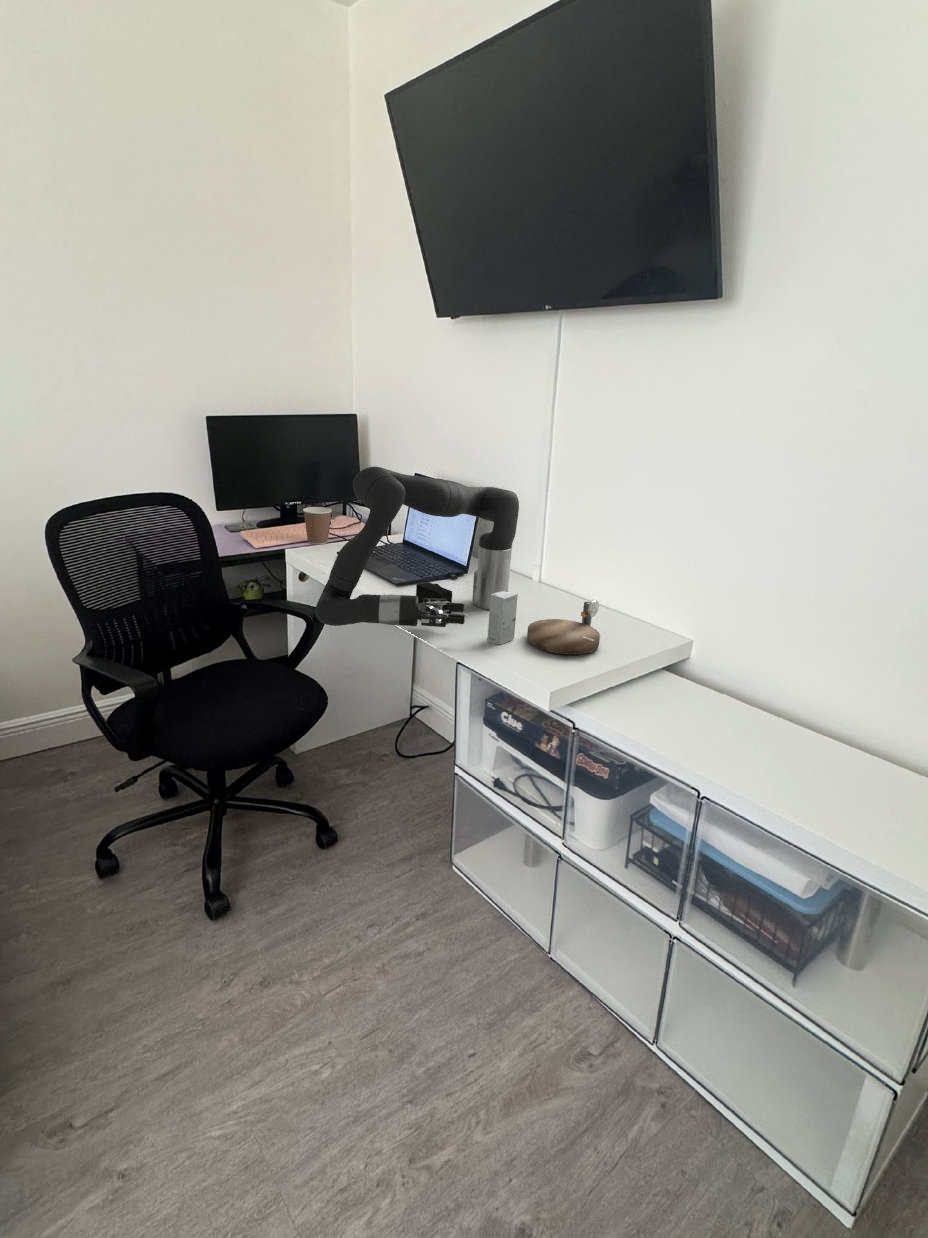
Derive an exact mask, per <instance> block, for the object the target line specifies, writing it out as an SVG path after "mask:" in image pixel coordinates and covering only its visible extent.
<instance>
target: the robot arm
mask: <svg viewBox="0 0 928 1238" xmlns="http://www.w3.org/2000/svg"><path fill="white" fill-rule="evenodd" d="M352 489H353V494H354V495H355V497H356V498H357V499H358V500H359V502H361V504H363V505H364V506H365V507H366V508H367V509H369V513H368V517H367V519H366V523H365V524H364V526H363V528H362V529H361V530H360V531H359V532H358V533H357V534H356V535H355V536H354V537H352V538H351V539H349V540H348V541H347V542H346V543H345V544H344V545H343V546H342V547H341V548H340V550H339V552H338V554H337V556H336V557H335V560H334V562H333V565H332V567H331V570H330V573H329V576H328V580H327V582H326V584H325V586H324V587H323V590H322V592H321V594H320V596H319V599H318V601H317V603H316V606H315V608H314V614H315V618H316V619H317V620H318V621H319V622H320V623H322V624H323V625H324V624H325V625H327V626H333V627H335V626H336V627H339V626H346V625H355V624H358V623H359V624H360V623H367V624H382V625H387V626H402V627H403V626H404V627H407V626H408V627H417V625H418V622H419V621H420V626H421V627H422V626H423V627H437V628H438V627H439V628H445V627H447V625H449V624H451V625H452V624H455V625H457V624H458V625H464V624H465V620H466V617H465V614H463V613H464V612H465V604H464V602H452V603H449V601H447V599H437V598H424V599H423V603H419V598H418V596H416V595H410V594H409V595H408V594H371V593H369V594H368V593H367V594H366V593H365V594H360V595H358V596H357V597H355V598H351V597H352V595H353V592H354V590H355V589H356V587H357V585H358V583H359V582H360V580H361V579H360V578H361V576H362V575H363V573H364V570H365V567H366V565H367V564H368V561H369V559H370V557H371V555H372V554H373V552H374V550H375V549H376V547H377V545H378V544H379V543H380V541H381V540H382V538H383V537H384V535H385V534H386V532H387V530H388V529H389V528H390V526H391V524H392V523H393V521H394V520H395V519H396V517H397V515H398V513H399V511H400V509H402V506H405V507H408V508H410V509H413V510H414V511H417V512H419V513H422V514H425V515H429V516H434V517H441V518H452V517H453V518H455V517H458V516H460V515H468V516H472V517H476V518H478V519H479V518H480V519H482V520H485V521H487V522H488V521H489V522H492V523H493V525H492V526H493V527H492V530H491V532H490V531H489V532H485V533H483V534H481V535H480V536H479V537H478V538H479V541H478V553H477V554H478V555H477V569H476V570H475V571H474V572H473V583H472V584H473V585H472V598H471V604H474V605H475V606H476V607H478V608H481V609H485V610H490V597H491V594H494V593H497V592H501V591H509V583H510V574H511V571H510V570H511V563H512V562H511V561H512V551H513V550H512V549H513V542H514V540H515V537H516V533H517V526H518V518H519V513H520V512H519V511H520V501H519V497H518V495H517V493H515V492H514V491H512V490H508V489H504V488H499V487H496V486H495V487H494V486H476V487H475V486H467V485H464V484H462V483H460V482H456V481H454V480H449V479H444V478H443V479H441V478H432V477H427V476H420V475H419V476H418V475H410V474H404V473H400V472H397V471H393V470H390V469H387V468H383V467H380V466H370V467H368V466H367V467H366V468H362V470H360V471H359V472H358V473H357V474H356V475H355V477H354V478H353V481H352ZM448 611H449V612H451V614H450V615H449V614H447V613H444V612H448ZM457 613H458V614H457ZM459 613H461V614H459Z"/></svg>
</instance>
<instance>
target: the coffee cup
mask: <svg viewBox="0 0 928 1238" xmlns="http://www.w3.org/2000/svg"><path fill="white" fill-rule="evenodd" d="M332 510H333V509H331V508H329V507H322V506H321V507H320V506H310V507H305V508H303V509H302V512H303V517H304V523H305V531H306V537H307V541H308V544H310V545H311V544H312V545H324V544H327V543H328V540H329V534H330V526H331V518H332V517H331V516H332Z"/></svg>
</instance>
